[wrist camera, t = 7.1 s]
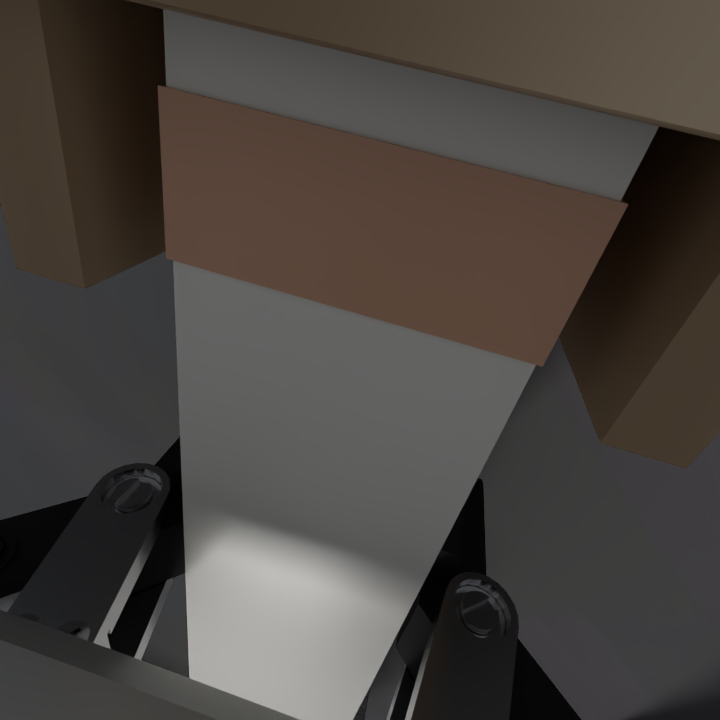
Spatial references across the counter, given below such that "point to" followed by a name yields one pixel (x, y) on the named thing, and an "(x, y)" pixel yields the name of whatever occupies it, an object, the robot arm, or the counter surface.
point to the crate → (436, 55)
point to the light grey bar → (353, 331)
